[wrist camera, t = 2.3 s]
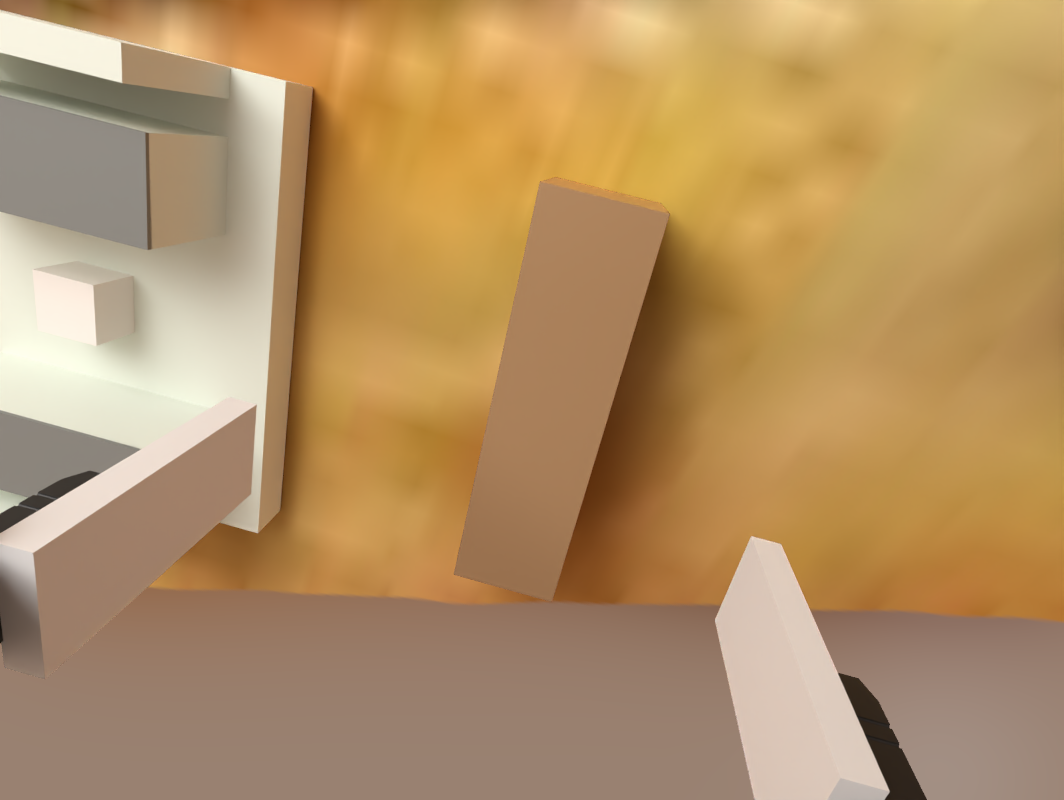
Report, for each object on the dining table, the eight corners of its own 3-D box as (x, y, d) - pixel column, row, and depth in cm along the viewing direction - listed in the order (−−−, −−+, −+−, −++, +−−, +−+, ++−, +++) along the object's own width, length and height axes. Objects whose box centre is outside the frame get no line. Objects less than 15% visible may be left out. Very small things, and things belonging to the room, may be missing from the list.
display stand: (-37, 1, 23) (-287, -59, 17) (313, 87, 23) (191, 59, 16) (14, 436, 31) (-147, 510, 24) (280, 510, 30) (186, 606, 24)
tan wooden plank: (555, 176, 23) (538, 181, 19) (660, 203, 23) (669, 214, 18) (479, 507, 29) (452, 574, 24) (563, 530, 29) (551, 602, 24)
